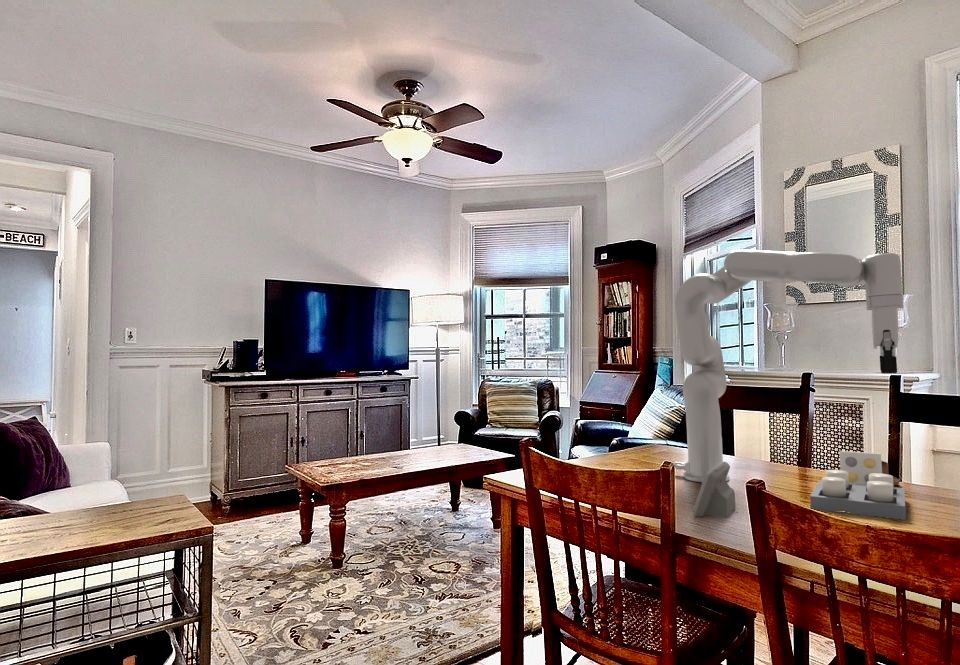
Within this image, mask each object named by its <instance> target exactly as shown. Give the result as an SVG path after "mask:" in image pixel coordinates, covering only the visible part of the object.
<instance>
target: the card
mask: <svg viewBox="0 0 960 665" xmlns="http://www.w3.org/2000/svg"><path fill="white" fill-rule="evenodd" d="M881 461H882V453H878V452H877V453H876V452H862V451H861V452H860V451H847V450H839V467H840V469H839V470H842V471H846V472H848V478H849V483H854V484H864V485H867V482H868V481H869V474H872V473H880V474H882V462H881Z"/></svg>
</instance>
